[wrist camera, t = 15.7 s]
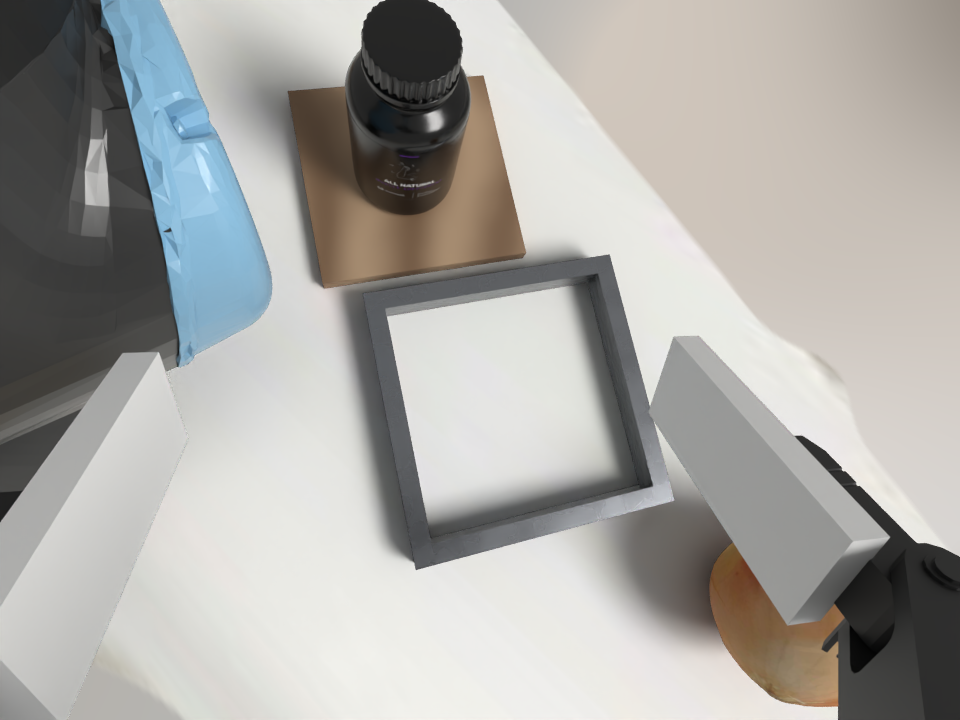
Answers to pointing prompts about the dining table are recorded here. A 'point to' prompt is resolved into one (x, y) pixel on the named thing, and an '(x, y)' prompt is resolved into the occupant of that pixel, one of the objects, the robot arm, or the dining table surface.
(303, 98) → the walnut board
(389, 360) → the metal rim
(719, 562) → the onion
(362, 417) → the dining table surface
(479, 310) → the dining table surface
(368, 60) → the supplement bottle
